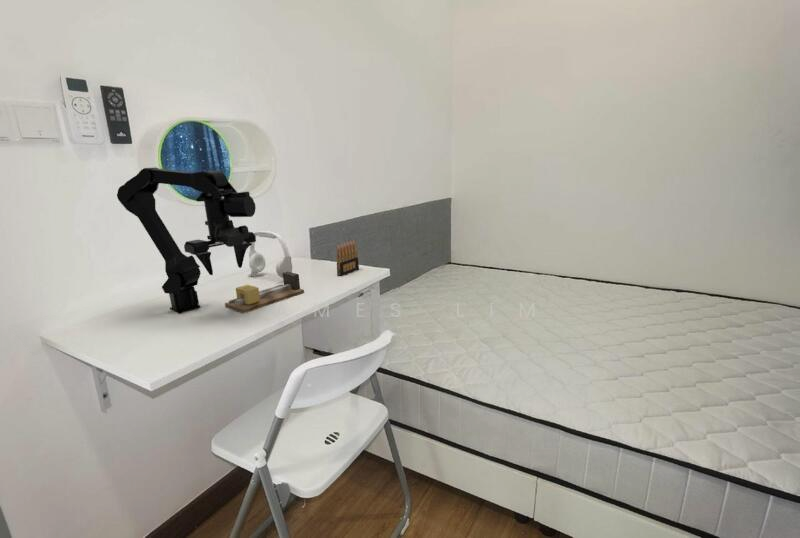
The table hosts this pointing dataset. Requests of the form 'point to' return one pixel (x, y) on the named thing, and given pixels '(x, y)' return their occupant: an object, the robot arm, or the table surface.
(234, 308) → the rail board
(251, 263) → the headset
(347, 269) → the ammunition clip
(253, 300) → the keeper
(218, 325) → the table surface
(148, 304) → the table surface
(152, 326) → the table surface
